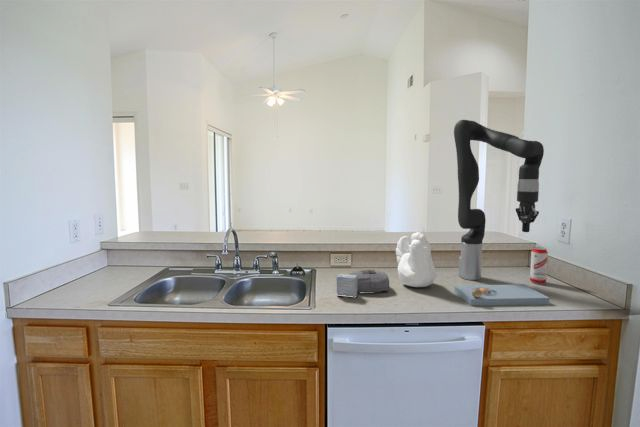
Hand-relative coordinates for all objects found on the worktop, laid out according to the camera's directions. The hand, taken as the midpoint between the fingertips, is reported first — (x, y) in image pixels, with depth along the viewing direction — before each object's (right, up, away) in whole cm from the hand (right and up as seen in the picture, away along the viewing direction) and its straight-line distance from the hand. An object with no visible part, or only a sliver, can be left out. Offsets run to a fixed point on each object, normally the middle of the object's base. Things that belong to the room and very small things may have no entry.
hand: (525, 231), depth 142 cm
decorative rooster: (-42, -25, +17) cm, 51 cm away
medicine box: (-74, -27, +1) cm, 79 cm away
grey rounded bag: (-65, -26, +10) cm, 71 cm away
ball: (-20, -25, -4) cm, 32 cm away
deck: (-13, -26, -4) cm, 30 cm away
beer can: (+14, -24, +14) cm, 31 cm away
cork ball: (-25, -23, -10) cm, 36 cm away
